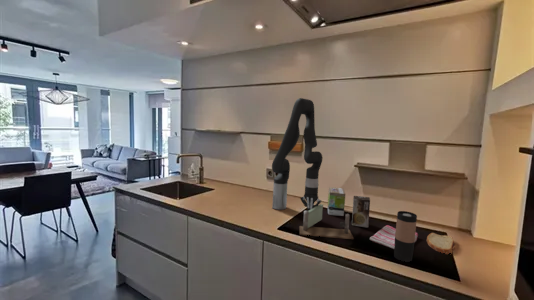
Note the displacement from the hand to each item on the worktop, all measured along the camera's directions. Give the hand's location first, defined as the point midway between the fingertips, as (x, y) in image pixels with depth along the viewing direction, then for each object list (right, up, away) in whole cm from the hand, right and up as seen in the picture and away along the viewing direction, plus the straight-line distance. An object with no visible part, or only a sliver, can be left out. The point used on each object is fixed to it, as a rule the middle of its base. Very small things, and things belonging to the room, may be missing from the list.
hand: (310, 214), depth 154 cm
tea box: (+20, -3, +19) cm, 27 cm away
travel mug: (+35, -10, -39) cm, 53 cm away
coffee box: (+29, -6, -2) cm, 29 cm away
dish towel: (+40, -9, -20) cm, 45 cm away
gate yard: (+5, -6, -16) cm, 18 cm away
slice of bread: (+62, -10, -24) cm, 67 cm away
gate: (+1, -4, -6) cm, 8 cm away
